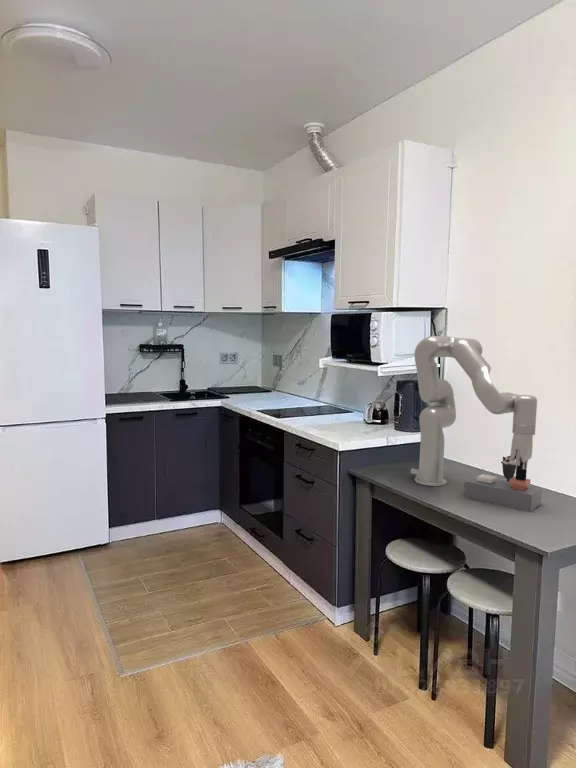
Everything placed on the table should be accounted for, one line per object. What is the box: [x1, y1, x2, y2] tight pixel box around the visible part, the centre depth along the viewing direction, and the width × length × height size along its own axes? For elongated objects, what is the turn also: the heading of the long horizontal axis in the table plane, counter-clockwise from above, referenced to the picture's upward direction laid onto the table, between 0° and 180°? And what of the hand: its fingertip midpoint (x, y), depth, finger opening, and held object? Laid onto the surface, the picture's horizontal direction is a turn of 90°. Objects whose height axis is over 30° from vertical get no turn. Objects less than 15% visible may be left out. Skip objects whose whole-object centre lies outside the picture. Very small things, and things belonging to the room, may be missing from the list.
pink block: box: [509, 476, 532, 491], centre depth 194 cm, size 6×6×8 cm
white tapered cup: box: [476, 473, 498, 484], centre depth 202 cm, size 6×6×8 cm
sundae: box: [500, 455, 516, 481], centre depth 215 cm, size 7×7×15 cm
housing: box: [463, 474, 543, 513], centre depth 198 cm, size 24×12×6 cm, turn 49°
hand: (520, 479), depth 194 cm, fingers closed
